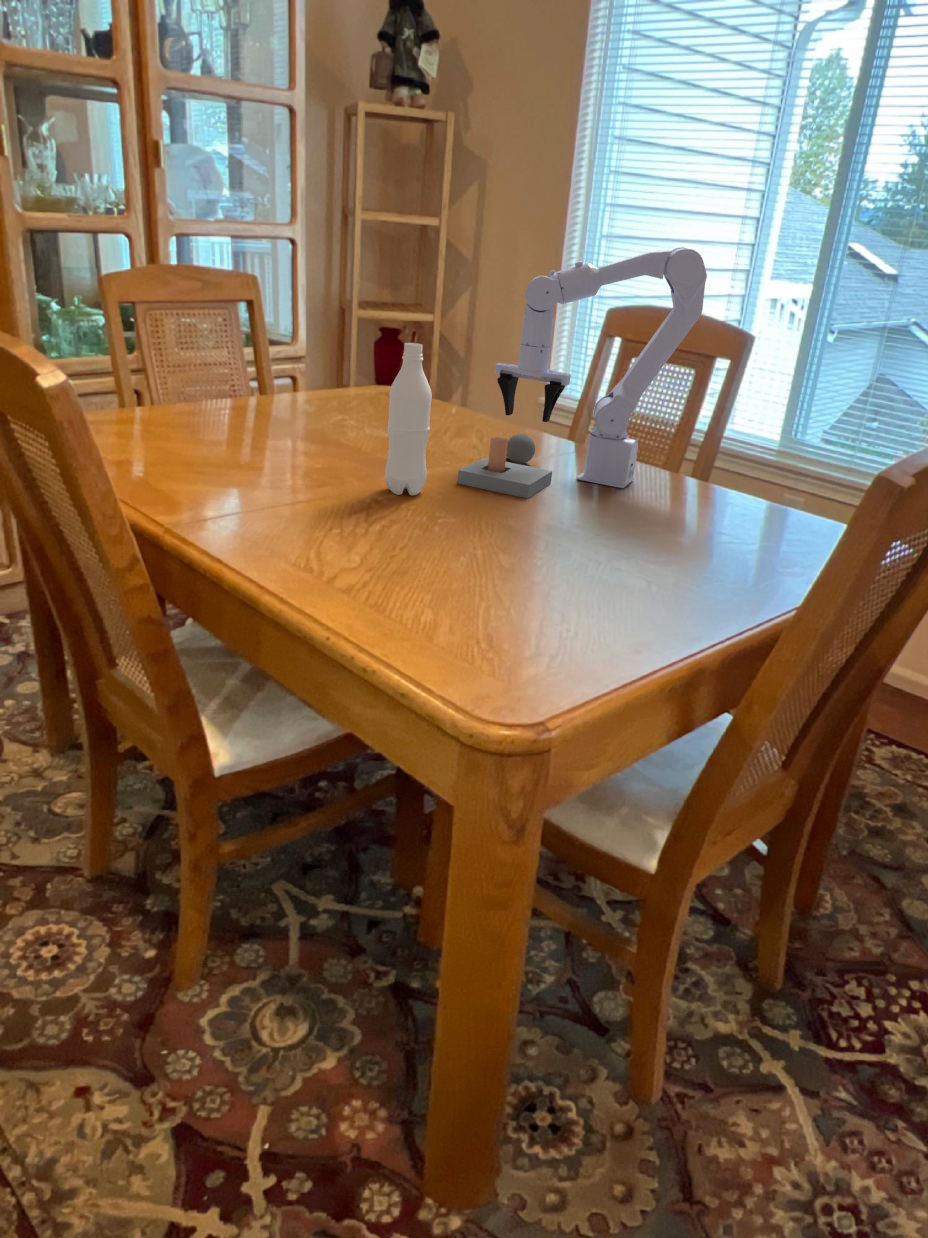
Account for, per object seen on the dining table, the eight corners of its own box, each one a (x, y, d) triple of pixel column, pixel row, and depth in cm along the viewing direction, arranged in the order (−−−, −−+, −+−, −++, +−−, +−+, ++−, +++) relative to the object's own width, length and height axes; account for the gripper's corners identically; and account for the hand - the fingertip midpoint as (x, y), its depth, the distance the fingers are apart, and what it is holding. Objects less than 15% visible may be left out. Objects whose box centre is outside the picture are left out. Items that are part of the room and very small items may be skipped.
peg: (504, 480, 168) (508, 438, 165) (502, 484, 165) (507, 442, 162) (487, 478, 168) (491, 436, 165) (485, 482, 165) (490, 440, 162)
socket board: (550, 483, 168) (552, 470, 167) (527, 498, 158) (529, 484, 157) (483, 469, 173) (484, 457, 172) (457, 483, 163) (458, 470, 162)
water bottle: (419, 500, 152) (429, 349, 141) (379, 494, 153) (386, 344, 143) (429, 489, 158) (439, 344, 148) (390, 483, 159) (398, 339, 149)
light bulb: (515, 444, 187) (546, 443, 179) (503, 469, 186) (533, 469, 178) (496, 428, 183) (526, 427, 175) (483, 453, 182) (513, 453, 174)
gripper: (579, 348, 166) (569, 420, 172) (507, 337, 171) (500, 408, 177) (567, 351, 160) (557, 426, 166) (493, 340, 165) (486, 413, 171)
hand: (527, 417), depth 171 cm, fingers open, 7 cm apart
